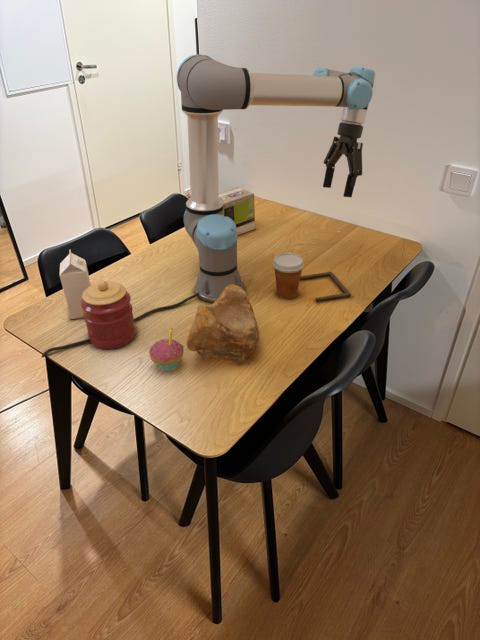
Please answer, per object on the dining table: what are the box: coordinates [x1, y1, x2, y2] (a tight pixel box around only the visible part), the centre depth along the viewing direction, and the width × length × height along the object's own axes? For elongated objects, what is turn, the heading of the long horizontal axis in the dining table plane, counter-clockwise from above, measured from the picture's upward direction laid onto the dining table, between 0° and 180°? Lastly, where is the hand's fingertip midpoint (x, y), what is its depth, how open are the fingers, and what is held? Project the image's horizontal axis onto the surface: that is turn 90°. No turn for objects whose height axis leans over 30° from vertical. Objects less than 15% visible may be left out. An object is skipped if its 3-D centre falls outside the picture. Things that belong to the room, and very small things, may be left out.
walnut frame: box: [300, 271, 352, 303], centre depth 157 cm, size 11×15×1 cm
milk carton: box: [59, 249, 92, 320], centre depth 142 cm, size 7×7×19 cm
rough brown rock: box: [186, 284, 260, 364], centre depth 127 cm, size 23×17×15 cm
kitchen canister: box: [81, 279, 137, 350], centre depth 132 cm, size 13×13×18 cm
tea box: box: [218, 187, 256, 236], centre depth 188 cm, size 15×10×15 cm
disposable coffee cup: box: [272, 252, 305, 300], centre depth 151 cm, size 10×10×12 cm
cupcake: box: [148, 327, 184, 372], centre depth 123 cm, size 9×8×12 cm
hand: (336, 192), depth 162 cm, fingers open, 13 cm apart
